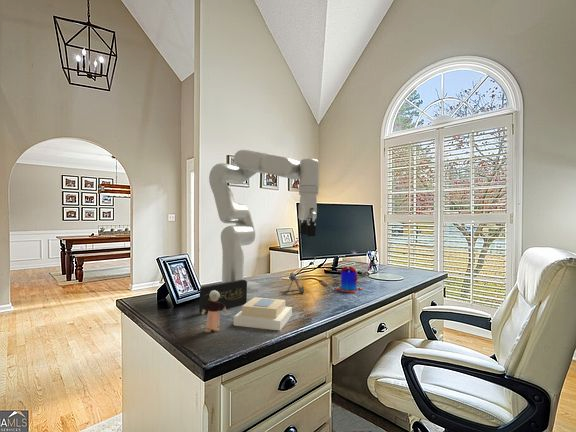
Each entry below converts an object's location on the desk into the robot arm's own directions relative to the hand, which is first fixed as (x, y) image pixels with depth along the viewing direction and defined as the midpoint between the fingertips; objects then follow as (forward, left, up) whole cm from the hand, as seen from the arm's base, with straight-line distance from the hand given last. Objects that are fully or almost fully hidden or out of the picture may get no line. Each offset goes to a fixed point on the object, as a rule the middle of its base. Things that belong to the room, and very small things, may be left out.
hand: (307, 235), depth 122 cm
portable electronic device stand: (-10, +28, -30) cm, 42 cm away
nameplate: (-31, -8, -30) cm, 43 cm away
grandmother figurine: (-24, -30, -29) cm, 48 cm away
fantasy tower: (+14, +40, -30) cm, 52 cm away
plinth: (-12, -16, -29) cm, 35 cm away
